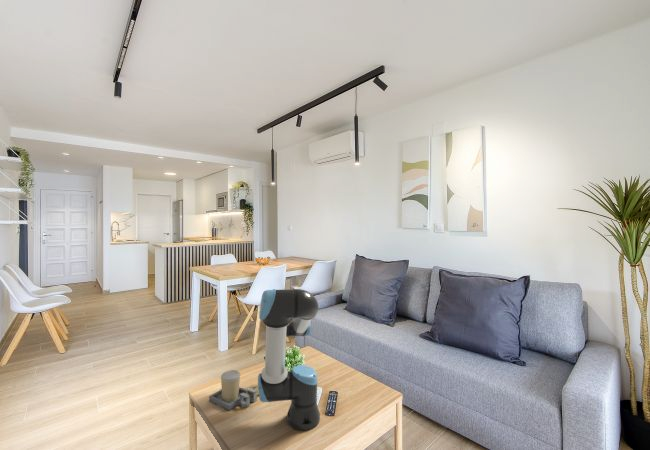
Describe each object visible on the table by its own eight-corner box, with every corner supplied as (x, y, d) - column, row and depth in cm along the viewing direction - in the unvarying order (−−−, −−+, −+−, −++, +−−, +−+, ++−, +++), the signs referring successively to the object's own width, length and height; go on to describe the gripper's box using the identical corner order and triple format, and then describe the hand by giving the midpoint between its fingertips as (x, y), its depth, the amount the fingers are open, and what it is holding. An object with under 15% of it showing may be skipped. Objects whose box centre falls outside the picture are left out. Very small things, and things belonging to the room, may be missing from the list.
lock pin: (266, 384, 167) (267, 377, 167) (272, 386, 165) (272, 379, 165) (247, 397, 154) (247, 390, 154) (253, 400, 152) (253, 393, 152)
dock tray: (258, 399, 155) (258, 389, 155) (237, 415, 143) (237, 404, 142) (230, 388, 164) (230, 378, 164) (209, 401, 152) (209, 391, 152)
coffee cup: (242, 393, 159) (243, 370, 158) (235, 404, 149) (236, 380, 149) (225, 391, 160) (225, 369, 159) (217, 402, 150) (217, 378, 150)
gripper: (275, 335, 175) (274, 375, 176) (260, 343, 164) (259, 386, 164) (286, 338, 171) (285, 379, 172) (271, 346, 160) (270, 390, 161)
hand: (272, 382), depth 168 cm, fingers closed
